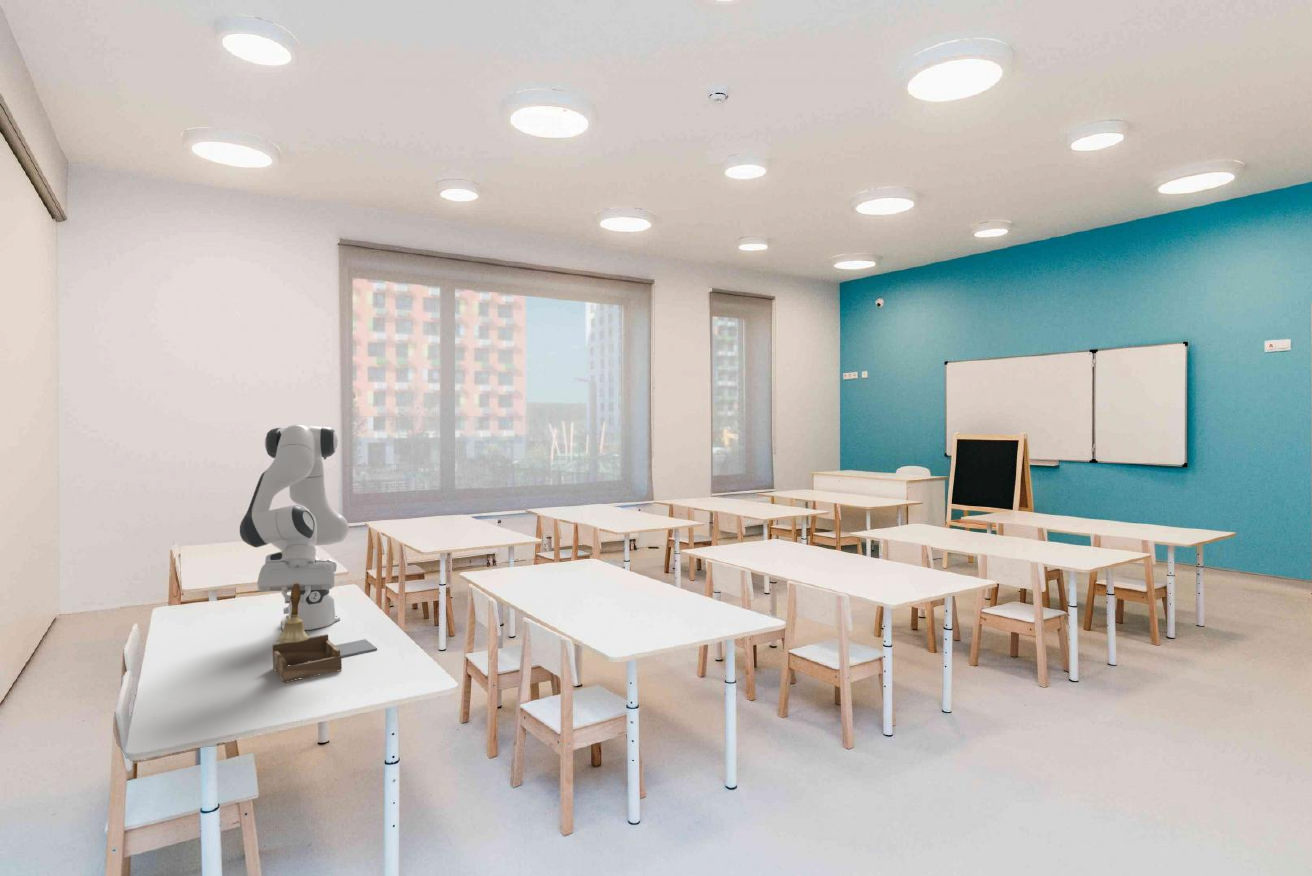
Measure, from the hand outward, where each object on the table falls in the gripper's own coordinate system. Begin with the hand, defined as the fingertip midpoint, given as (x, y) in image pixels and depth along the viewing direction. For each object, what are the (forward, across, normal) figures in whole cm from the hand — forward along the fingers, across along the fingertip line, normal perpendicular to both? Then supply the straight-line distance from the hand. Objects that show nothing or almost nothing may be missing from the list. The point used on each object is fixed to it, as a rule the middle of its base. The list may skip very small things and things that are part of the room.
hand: (295, 602), depth 204 cm
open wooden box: (+14, -4, -14) cm, 20 cm away
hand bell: (+8, 0, -8) cm, 11 cm away
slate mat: (+4, -16, -23) cm, 29 cm away
